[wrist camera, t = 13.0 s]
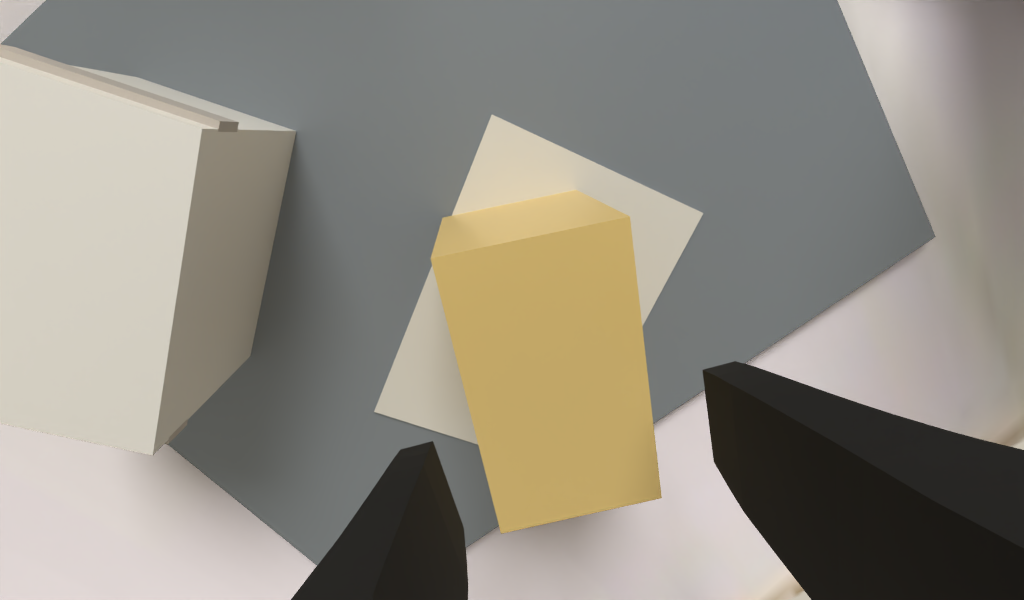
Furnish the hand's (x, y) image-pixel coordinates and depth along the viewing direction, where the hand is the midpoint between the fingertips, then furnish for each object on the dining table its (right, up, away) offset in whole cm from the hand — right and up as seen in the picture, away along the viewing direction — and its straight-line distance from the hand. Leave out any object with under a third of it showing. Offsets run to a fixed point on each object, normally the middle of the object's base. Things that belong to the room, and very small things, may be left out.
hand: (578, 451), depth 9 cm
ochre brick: (-1, +2, +7) cm, 7 cm away
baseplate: (-3, +5, +6) cm, 8 cm away
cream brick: (-10, +5, +5) cm, 12 cm away
